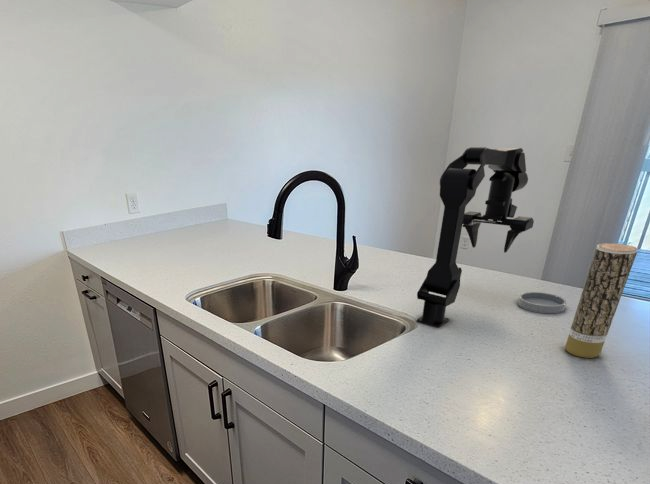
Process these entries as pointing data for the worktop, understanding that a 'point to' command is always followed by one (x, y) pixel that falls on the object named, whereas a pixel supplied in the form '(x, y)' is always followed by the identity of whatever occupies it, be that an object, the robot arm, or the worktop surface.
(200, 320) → the worktop surface
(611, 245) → the paper tube
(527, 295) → the stand
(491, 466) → the worktop surface
